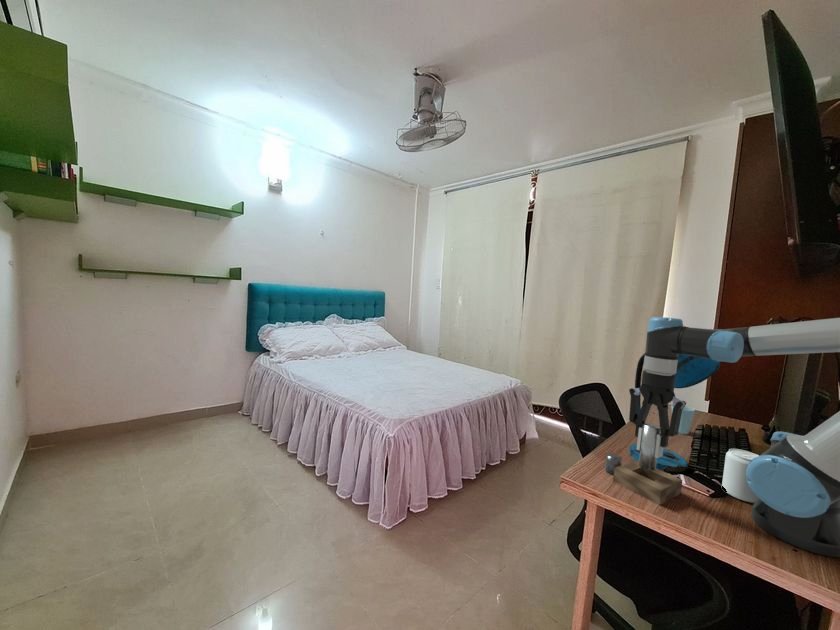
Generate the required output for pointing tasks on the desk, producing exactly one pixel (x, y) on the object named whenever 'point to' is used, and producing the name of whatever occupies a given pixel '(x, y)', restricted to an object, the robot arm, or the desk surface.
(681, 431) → the cup
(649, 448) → the tall pin
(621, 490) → the desk surface
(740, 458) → the beverage can
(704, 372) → the desk lamp
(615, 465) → the stub pin
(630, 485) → the tan square frame
